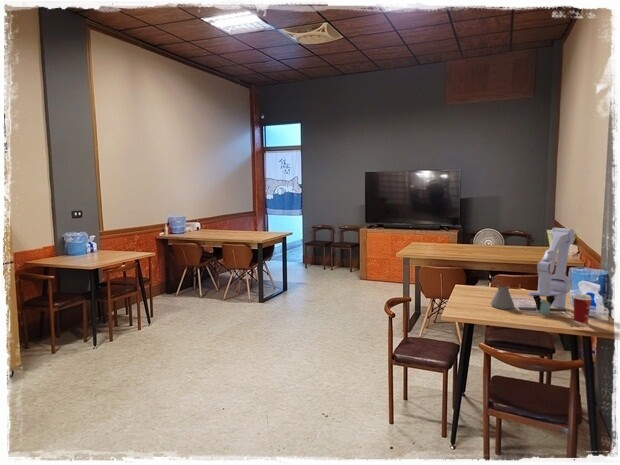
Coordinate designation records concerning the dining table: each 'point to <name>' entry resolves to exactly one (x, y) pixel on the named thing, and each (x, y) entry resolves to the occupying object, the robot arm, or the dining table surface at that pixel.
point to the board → (553, 312)
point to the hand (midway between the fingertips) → (542, 310)
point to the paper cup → (581, 307)
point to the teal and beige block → (544, 307)
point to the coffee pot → (502, 297)
